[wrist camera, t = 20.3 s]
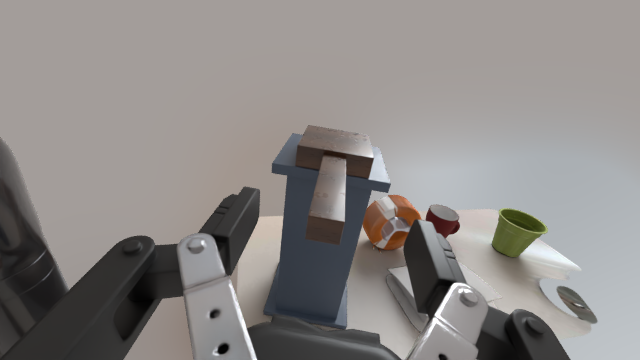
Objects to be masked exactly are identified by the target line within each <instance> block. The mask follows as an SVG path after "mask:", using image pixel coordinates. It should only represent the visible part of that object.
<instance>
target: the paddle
mask: <svg viewBox="0 0 640 360" xmlns="http://www.w3.org/2000/svg"><path fill="white" fill-rule="evenodd" d="M373 161H374V156H373V151H372V147H371V143H370V139H369V135H364V134H358V133H352V132H346V131H340V130H334V129H329V128H323V127H316V126H310V125H308V127H307V129H306V130H305V132H304V134H303V136H302V138H301V140H300V141H299V143H298V145H297V153H296V163H295V166H299V167H305V168H310V169H316V170H319V174H318V178H317V182H316V186H315V190H314V194H313V198H312V202H311V206H310V210H309V214H308V220H307V227H306V234H305V239H306V240H312V241H317V242H323V243H329V244H334V245H340V242H341V237H342V233H343V229H344V224H345V197H346V175H351V176H357V177H363V178H369V176H370V172H371V169H372V165H373Z"/></svg>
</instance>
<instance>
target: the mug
mask: <svg viewBox="0 0 640 360" xmlns="http://www.w3.org/2000/svg"><path fill="white" fill-rule="evenodd" d="M458 220H459V216H458V214H457V213H456V212H455V211H453V210H452V209H450V208H448V207H445V206H442V205H431V206H430V208H429V210H428V212H427V215H426V221H429V222H432V223H433V225H434V228H435V230H436V232H437V233H439V234H441V235H442V236H443V237H444V238H446V237H447V236H448V235H449V234H454V233H456V232H457V231H458V230H459V228H460V224H459V222H458Z"/></svg>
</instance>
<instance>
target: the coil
mask: <svg viewBox="0 0 640 360" xmlns="http://www.w3.org/2000/svg"><path fill="white" fill-rule="evenodd" d="M415 219H418V220H421V217H420V214H419V213H418V211H417V210H416V209H415V208H414V207H413V206H412V204H411V203H410V202H409V201H408V200H407V199H406V198H404V197H402V196H398V195H388V196H387V197H384V198H381V199H379V200H377V201H375V202H374V203H372V204H371V205H370V206H369V207H368V208H367V210H366V213H365V217H364V220H363V228H364V230H365V232H366V234H367V236H368V238H369V240H370V241H371V243H372V244H374V246H377V247H378V249H379V248H382V249H383V250H391V249H392V250H393V249H397V248H400V247H401V246H404V242H405V240H406V237H407V235H408V233H409V231H410V228H411V226H412V224H413V222H414V220H415ZM374 246H373V250H374ZM379 251H380V249H379ZM380 253H381V251H380ZM381 254H382V253H381Z"/></svg>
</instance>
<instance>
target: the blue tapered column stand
mask: <svg viewBox="0 0 640 360" xmlns="http://www.w3.org/2000/svg"><path fill="white" fill-rule="evenodd" d="M302 136H303V135H300V134H294V133H293V134H292V135H291V137H290V138H289V139H288V141H287V142H286V144H285V145H284V147H283V148H282V150H281V151H280V153H279V154H278V156H277V157H276V159H275V160H274V161H273V163H272V173H275V174H281V175H287V185H286V196H285V208H284V218H283V229H282V240H281V251H280V262H279V265H278V269H277V272H276V275H275V278H274V281H273V284H272V287H271V290H270V293H269V296H268V299H267V302H266V305H265V308H264V314H265V315H271V316H273V313H274V314H279V315H284V316H289V317H294V318H299V319H301V320H303V321H305V322H308V323H314V324H319V325H324V326H330V327H335V328H340V329H346V327H347V279H348V275H349V272H350V268H351V264H352V261H353V257H354V253H355V250H356V246H357V242H358V239H359V235H360V231H361V228H362V224H363V220H364V217H365V213H366V209H367V206H368V202H369V198H370V195H371V191H372V190H374V191H380V192H386V193H388V191H389V188H390V185H391V183H390V180H389V176H388V174H387V170H386V167H385V164H384V161H383V158H382V155H381V152H380V149H379V148H377V147H372V146H371V147H372V151H373V156H374V161H373V165H372V169H371V172H370V176H369V178H363V177H357V176H351V175H346V197H345V224H344V229H343V233H342V237H341V242H340V245H334V244H329V243H323V242H317V241H312V240H306V239H305V234H306V227H307V220H308V214H309V210H310V206H311V202H312V198H313V194H314V190H315V186H316V182H317V178H318V174H319V170H316V169H310V168H305V167H299V166H295V163H296V153H297V145H298V143H299V141H300V140H301V138H302Z"/></svg>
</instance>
